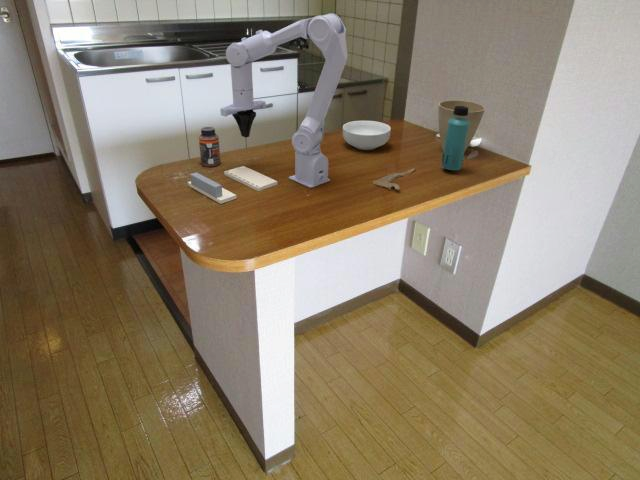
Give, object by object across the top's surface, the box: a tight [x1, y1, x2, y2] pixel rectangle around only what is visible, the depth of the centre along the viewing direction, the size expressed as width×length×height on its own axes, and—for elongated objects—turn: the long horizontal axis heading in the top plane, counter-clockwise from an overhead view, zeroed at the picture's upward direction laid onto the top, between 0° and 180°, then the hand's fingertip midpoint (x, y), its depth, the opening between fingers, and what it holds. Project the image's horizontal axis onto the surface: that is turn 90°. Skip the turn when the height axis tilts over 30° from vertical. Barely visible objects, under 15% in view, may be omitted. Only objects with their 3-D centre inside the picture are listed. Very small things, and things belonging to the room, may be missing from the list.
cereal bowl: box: [342, 120, 392, 151], centre depth 159 cm, size 17×17×7 cm
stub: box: [187, 171, 237, 205], centre depth 124 cm, size 16×5×4 cm, turn 45°
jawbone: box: [372, 167, 416, 192], centre depth 136 cm, size 9×20×2 cm, turn 156°
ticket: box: [223, 165, 278, 192], centre depth 133 cm, size 16×7×1 cm, turn 45°
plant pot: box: [437, 99, 486, 153], centre depth 155 cm, size 15×15×16 cm
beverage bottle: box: [440, 106, 470, 171], centre depth 138 cm, size 6×7×20 cm
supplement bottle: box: [198, 126, 221, 168], centre depth 140 cm, size 6×6×11 cm
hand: (245, 136), depth 134 cm, fingers closed
